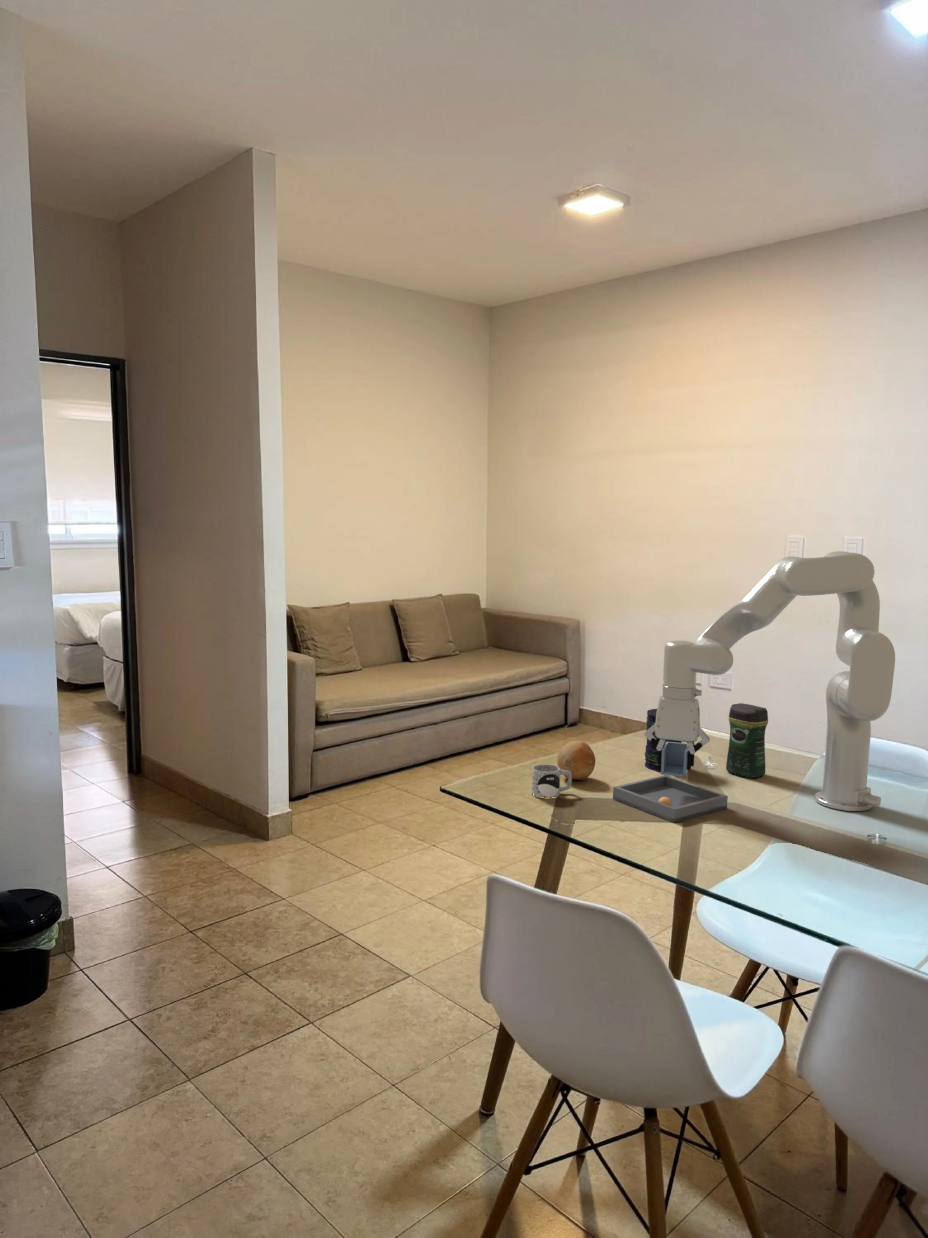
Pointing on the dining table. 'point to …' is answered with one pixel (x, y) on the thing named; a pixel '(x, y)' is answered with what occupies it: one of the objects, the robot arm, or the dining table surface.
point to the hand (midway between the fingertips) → (675, 766)
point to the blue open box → (674, 759)
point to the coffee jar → (747, 740)
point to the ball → (665, 801)
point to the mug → (548, 780)
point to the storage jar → (651, 750)
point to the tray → (682, 795)
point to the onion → (576, 759)
